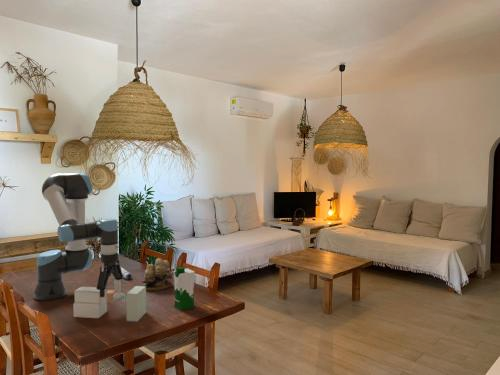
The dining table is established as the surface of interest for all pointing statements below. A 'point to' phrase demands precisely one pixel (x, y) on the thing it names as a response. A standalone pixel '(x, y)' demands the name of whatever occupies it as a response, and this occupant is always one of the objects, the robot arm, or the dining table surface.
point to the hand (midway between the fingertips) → (110, 298)
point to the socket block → (136, 303)
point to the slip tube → (115, 296)
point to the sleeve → (88, 303)
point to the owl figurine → (157, 276)
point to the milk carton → (184, 288)
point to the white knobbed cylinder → (126, 274)
